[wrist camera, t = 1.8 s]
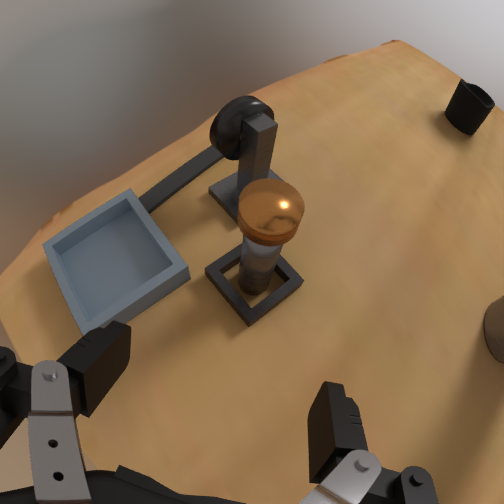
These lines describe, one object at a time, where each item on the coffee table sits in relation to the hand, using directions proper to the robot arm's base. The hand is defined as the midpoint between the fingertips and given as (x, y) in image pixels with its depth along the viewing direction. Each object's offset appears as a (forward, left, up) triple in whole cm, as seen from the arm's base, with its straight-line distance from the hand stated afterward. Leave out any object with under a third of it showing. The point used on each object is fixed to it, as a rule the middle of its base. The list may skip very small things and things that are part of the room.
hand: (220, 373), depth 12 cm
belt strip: (-12, -23, -17) cm, 31 cm away
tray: (+1, -17, -17) cm, 24 cm away
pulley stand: (-17, -16, -17) cm, 28 cm away
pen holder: (-72, -7, -17) cm, 74 cm away
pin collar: (-10, -7, -17) cm, 21 cm away
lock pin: (-10, -7, -17) cm, 21 cm away
